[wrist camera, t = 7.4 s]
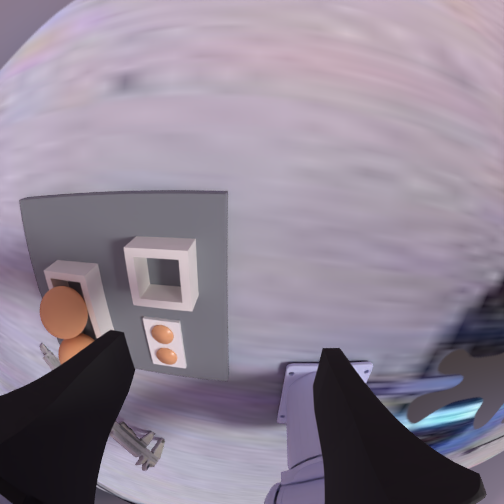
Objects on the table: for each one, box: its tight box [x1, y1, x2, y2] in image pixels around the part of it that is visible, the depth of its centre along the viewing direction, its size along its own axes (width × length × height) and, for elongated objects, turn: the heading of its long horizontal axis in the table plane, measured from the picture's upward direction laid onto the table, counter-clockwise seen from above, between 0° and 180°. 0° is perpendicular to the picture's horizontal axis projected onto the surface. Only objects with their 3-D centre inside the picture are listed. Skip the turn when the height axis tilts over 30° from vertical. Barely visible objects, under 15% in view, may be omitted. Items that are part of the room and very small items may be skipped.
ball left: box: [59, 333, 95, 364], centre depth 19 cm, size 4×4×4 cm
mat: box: [19, 191, 229, 381], centre depth 20 cm, size 16×18×1 cm
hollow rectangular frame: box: [44, 260, 114, 338], centre depth 20 cm, size 10×4×2 cm, turn 178°
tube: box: [124, 236, 199, 312], centre depth 18 cm, size 4×4×2 cm
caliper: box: [40, 343, 165, 471], centre depth 25 cm, size 20×1×6 cm, turn 40°
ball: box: [40, 286, 88, 339], centre depth 17 cm, size 4×4×4 cm
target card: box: [143, 316, 187, 368], centre depth 21 cm, size 5×3×1 cm, turn 178°
